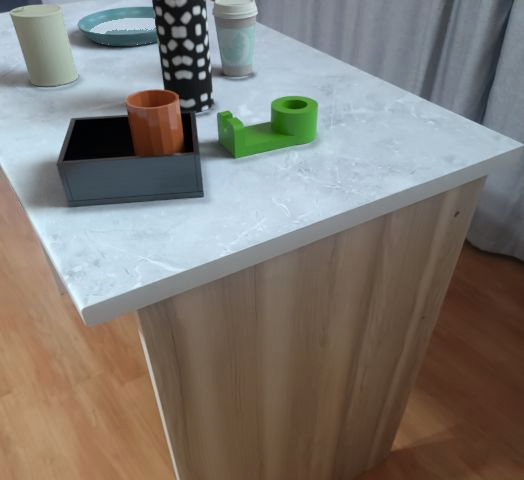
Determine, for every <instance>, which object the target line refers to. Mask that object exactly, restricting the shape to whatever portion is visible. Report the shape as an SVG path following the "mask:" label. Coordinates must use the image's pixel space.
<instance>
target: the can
mask: <svg viewBox="0 0 524 480" xmlns="http://www.w3.org/2000/svg"><path fill="white" fill-rule="evenodd" d="M9 16H10V18H11V22H12V24H13V27H14V31H15V34H16V37H17V41H18V44H19V47H20V50H21V53H22V56H23V59H24V64H25V66H26V71H27V74H28V76H29V82H30V83H31V85H34V86H37V87H58V86H64V85H68V84H70V83H73V82H75V81H76V80H78V78H79V73H78V70H77V67H76V63H75V60H74V54H73V52H72V47H71V43H70V40H69V35H68V31H67V27H66V23H65V18H64V14H63V7H61V6H60V5H56V4H50V3H49V4H47V3H46V4H45V3H44V4H43V3H42V4H30V5H24V6H19V7H16V8H13V9H11V10H10V11H9Z"/></svg>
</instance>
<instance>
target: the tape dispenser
mask: <svg viewBox="0 0 524 480" xmlns="http://www.w3.org/2000/svg"><path fill="white" fill-rule="evenodd" d="M318 113H319V102H317V100H315V99H313V98H311V97H308V96H302V95H287V96H281V97H278V98H276V99H274V100H272V101H271V103H270V121H266V122H265V121H264V122H261V123H255V124H251V125H246V126H244V125H245V124H244V123H243V122H242V121H241V120H240V119H239V118H238V117H236V116H235V117H234V115H233V113H232V112H231V111H230V110H225V111H219V112H217V115H216V123H217V138H218V143H220V144H221V146H223V147H224V149H225V150H227V151H228V152H229V154H231V155H232V157H234V159H237V158H244V157H247V156H252V155H256V154H261V153H266V152H269V151H274V150H278V149H283V148H288V147H292V146H298V145H305V144H308V143H311V142H312V141H314V140H315V139H316V138H317V129H318Z"/></svg>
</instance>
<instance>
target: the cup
mask: <svg viewBox="0 0 524 480" xmlns="http://www.w3.org/2000/svg"><path fill="white" fill-rule="evenodd" d="M124 103H125V110H126V115H128V119H129V125H130V130H131V135H132V140H133V146H134V151H135V156H146V155H160V154H175V153H186V152H185V144H184V136H183V128H182V119H181V111H180V103H179V95H177V94H176V93H175V92H172V91H169V90H164V89H161V88H160V89H158V88H157V89H156V88H154V89H153V88H152V89H146V90H140V91H136V92H134V93H131V94H129V95H128V96H127V97H125V101H124Z"/></svg>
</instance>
